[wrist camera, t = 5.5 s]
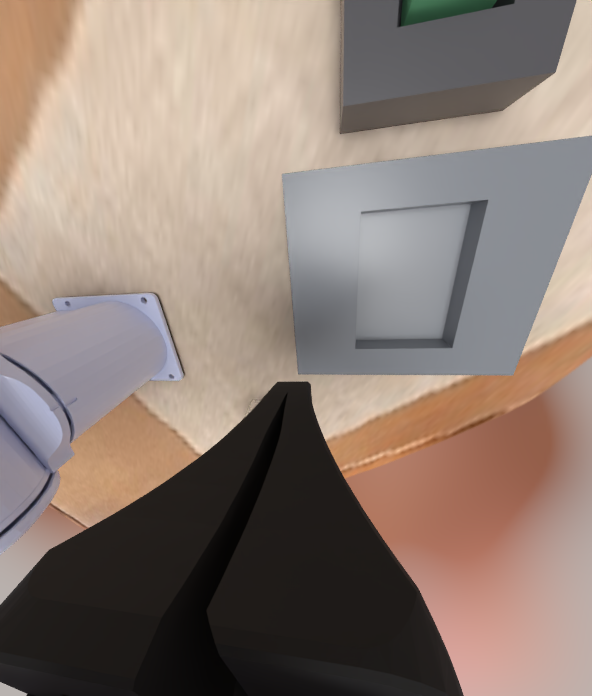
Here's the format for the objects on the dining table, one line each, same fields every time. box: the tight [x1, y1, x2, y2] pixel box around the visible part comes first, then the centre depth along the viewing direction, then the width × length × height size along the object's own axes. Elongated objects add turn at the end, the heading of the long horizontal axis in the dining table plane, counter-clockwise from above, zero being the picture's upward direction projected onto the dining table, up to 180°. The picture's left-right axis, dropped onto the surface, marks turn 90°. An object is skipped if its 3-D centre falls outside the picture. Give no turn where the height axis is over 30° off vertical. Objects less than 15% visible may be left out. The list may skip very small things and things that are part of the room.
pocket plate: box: [282, 136, 592, 375], centre depth 14 cm, size 14×12×2 cm
